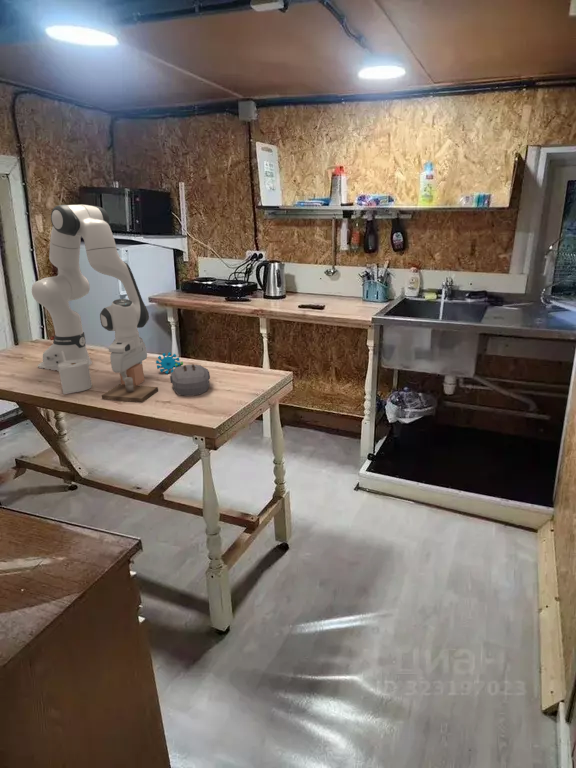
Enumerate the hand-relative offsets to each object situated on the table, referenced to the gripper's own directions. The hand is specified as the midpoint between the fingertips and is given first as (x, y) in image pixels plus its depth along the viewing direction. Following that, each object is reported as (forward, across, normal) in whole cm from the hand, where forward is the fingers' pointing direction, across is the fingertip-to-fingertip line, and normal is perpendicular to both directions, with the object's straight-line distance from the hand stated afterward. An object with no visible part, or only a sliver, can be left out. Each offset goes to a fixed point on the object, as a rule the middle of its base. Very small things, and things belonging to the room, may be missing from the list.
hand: (132, 376), depth 194 cm
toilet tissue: (+3, +10, -18) cm, 21 cm away
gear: (+3, -16, +8) cm, 18 cm away
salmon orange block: (+3, 0, 0) cm, 3 cm away
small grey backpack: (+3, +1, +25) cm, 25 cm away
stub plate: (+3, +12, +6) cm, 14 cm away
